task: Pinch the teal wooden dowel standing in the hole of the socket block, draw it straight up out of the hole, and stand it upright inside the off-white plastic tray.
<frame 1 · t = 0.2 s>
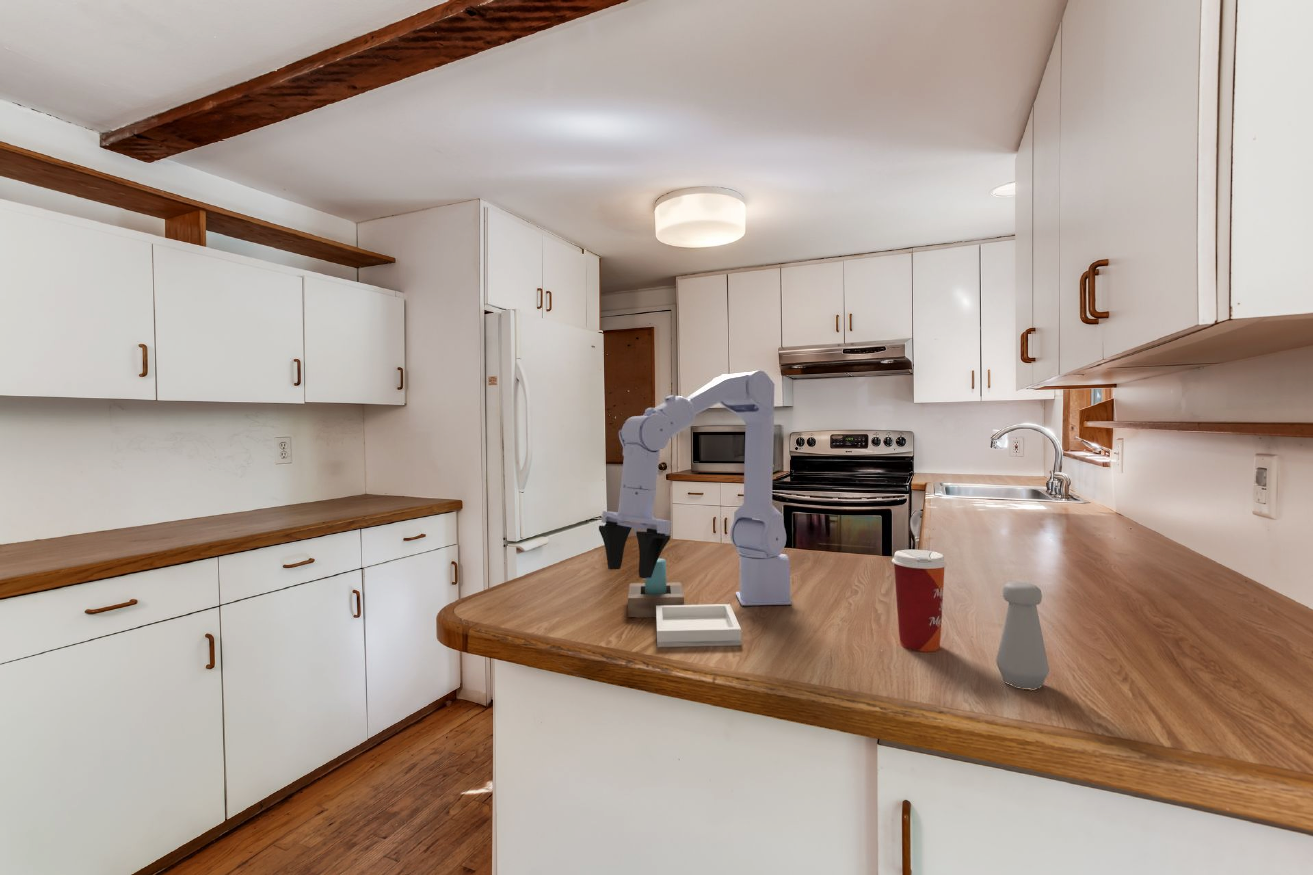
hand: (629, 573, 96), 11 cm above the counter, tool pointing down, fingers open, 7 cm apart
tray: (696, 631, 99), on the counter
dowel: (655, 584, 112), in the socket block
paper cup: (919, 646, 91), on the counter
salt shaker: (1022, 685, 77), on the counter
socket block: (656, 608, 112), on the counter
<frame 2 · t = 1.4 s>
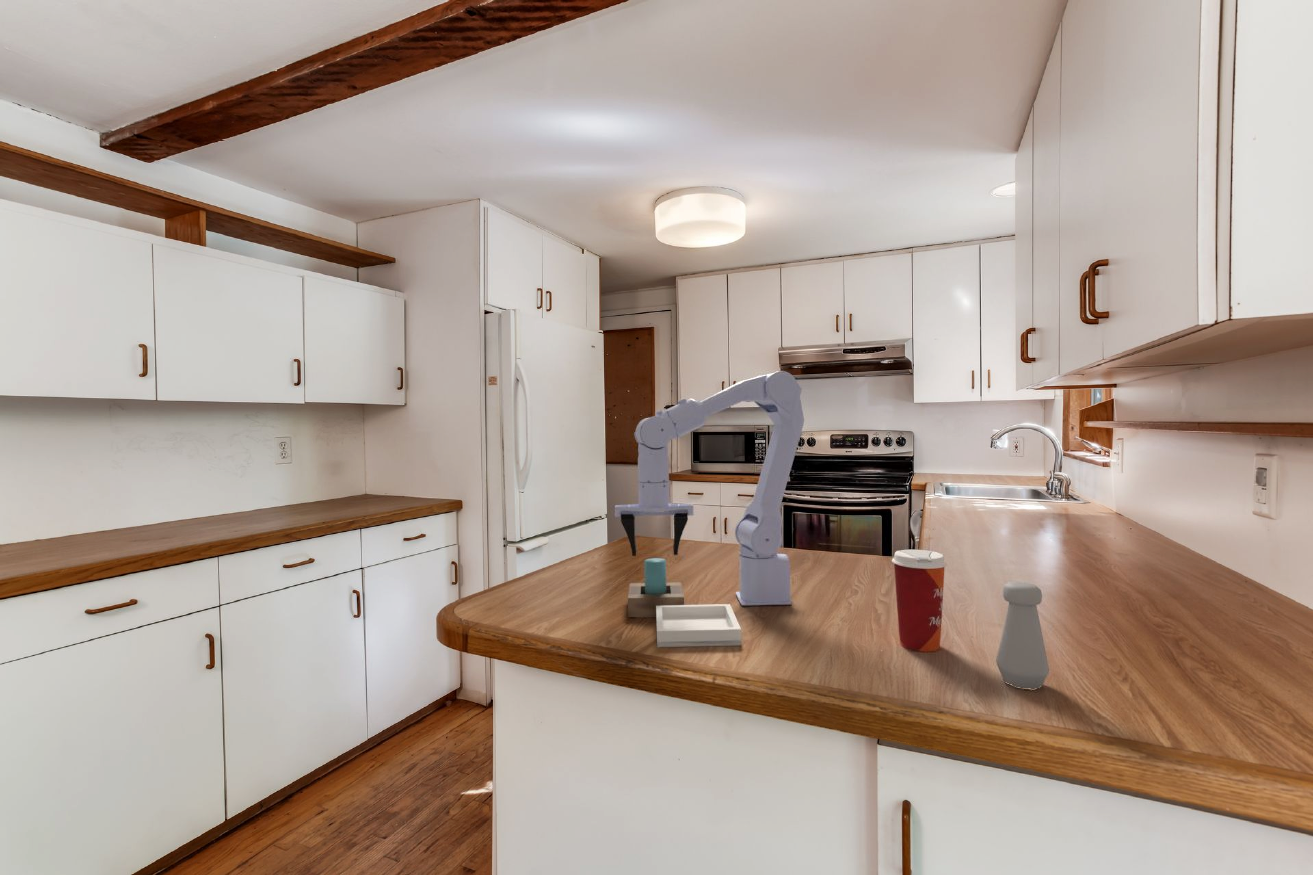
hand: (654, 554, 112), 10 cm above the counter, tool pointing down, fingers open, 7 cm apart
nothing on the counter moved.
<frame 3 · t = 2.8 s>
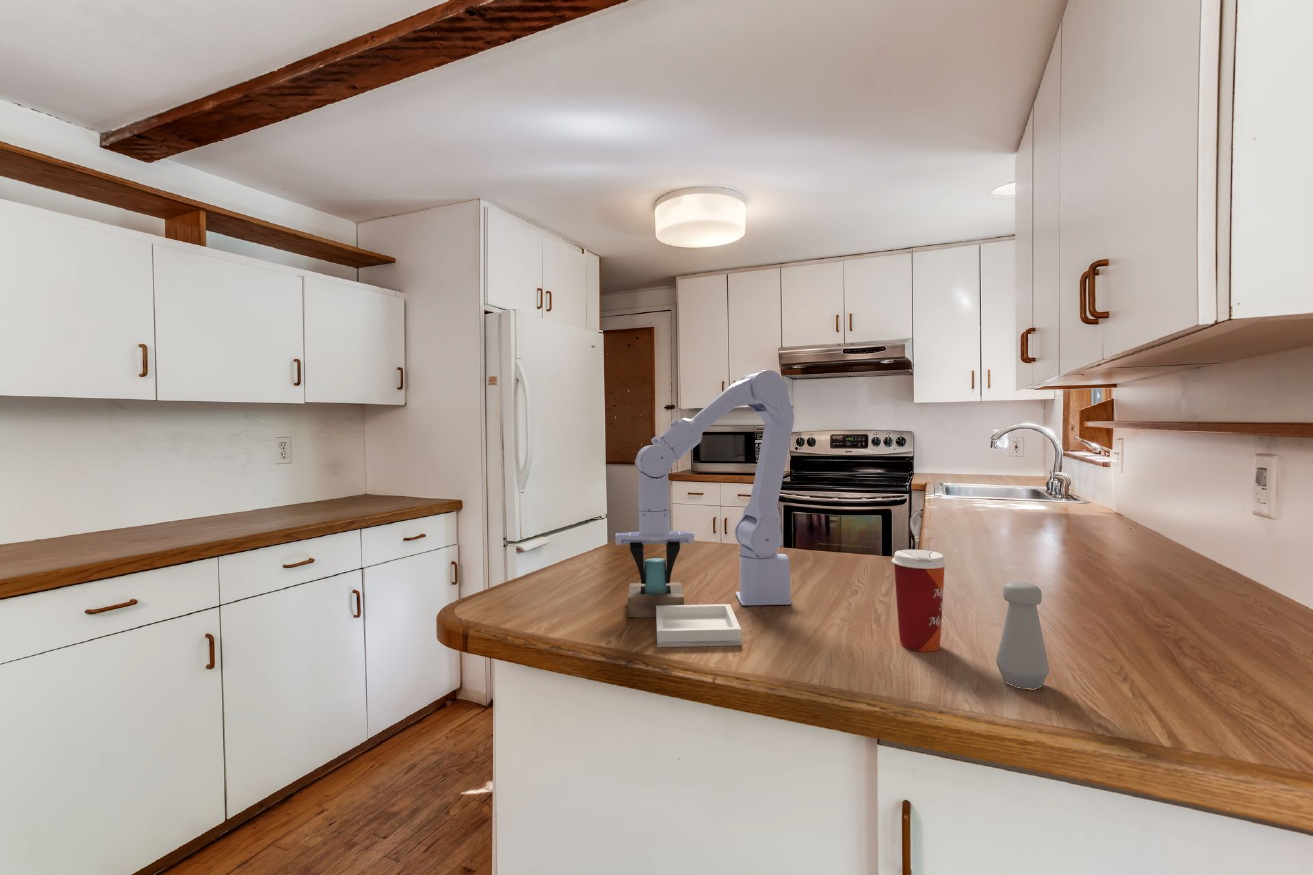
hand: (655, 582, 112), 5 cm above the counter, tool pointing down, fingers closed on dowel, 4 cm apart
dowel: (655, 584, 112), in the socket block, touching gripper
everything else where it was.
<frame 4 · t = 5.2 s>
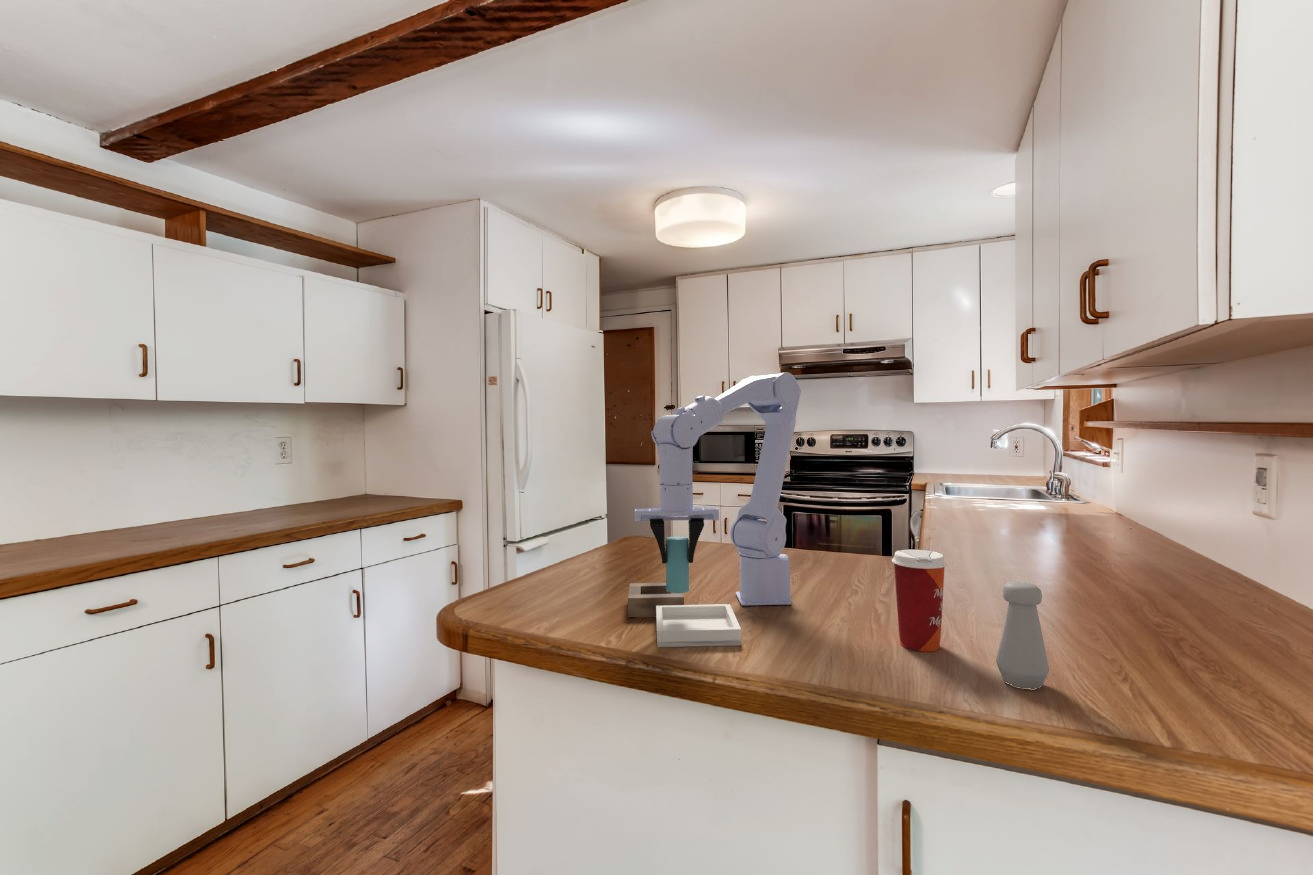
hand: (677, 562, 104), 10 cm above the counter, tool pointing down, fingers closed on dowel, 4 cm apart
dowel: (677, 564, 104), point 10 cm above the counter, touching gripper
everything else where it was.
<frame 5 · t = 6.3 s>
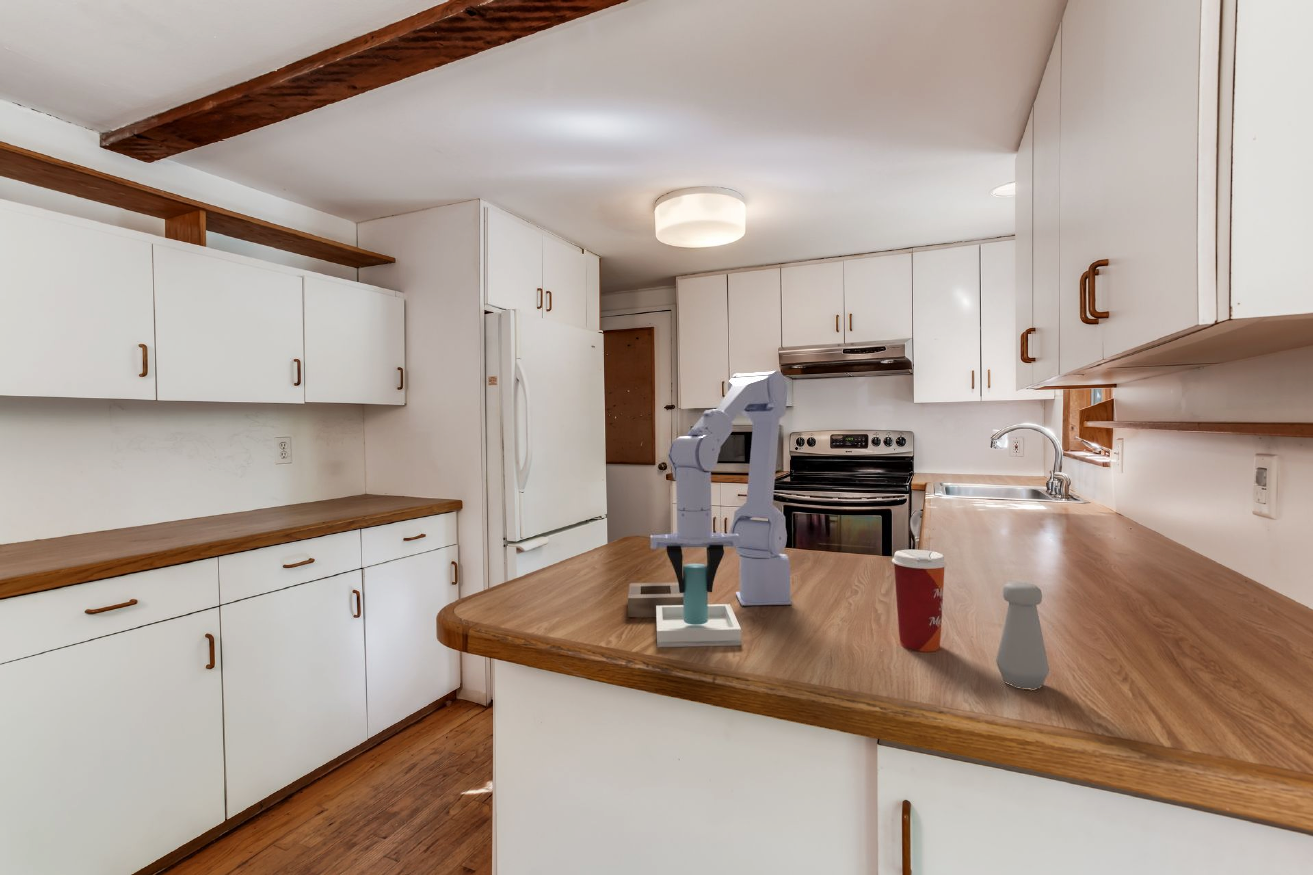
hand: (695, 591, 99), 7 cm above the counter, tool pointing down, fingers closed on dowel, 4 cm apart
dowel: (695, 593, 99), point 6 cm above the counter, touching gripper
everything else where it was.
when the fingers open (7 cm above the counter, at t = 7.5 s): dowel stays where it is, resting on tray.
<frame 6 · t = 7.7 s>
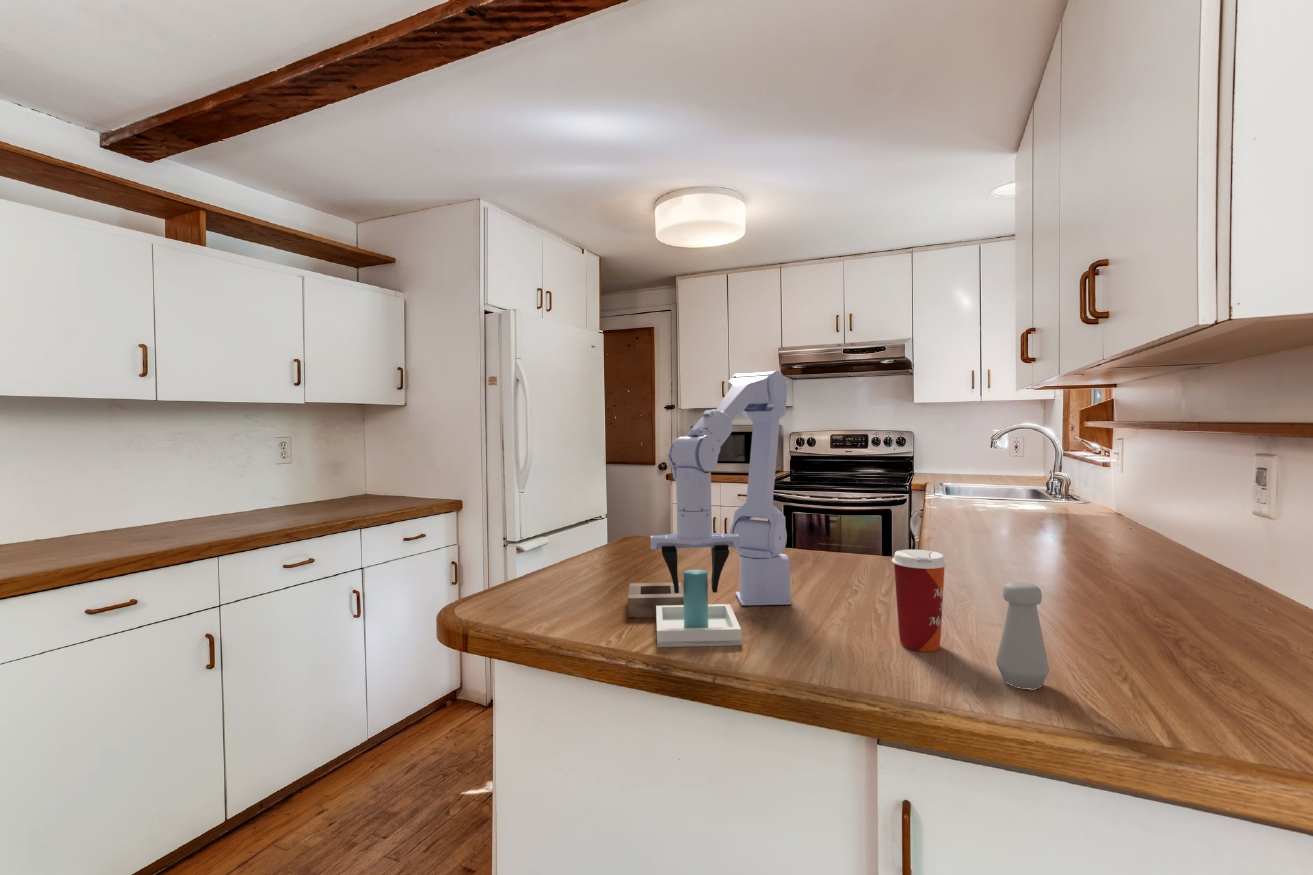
hand: (695, 591, 99), 7 cm above the counter, tool pointing down, fingers open, 6 cm apart
dowel: (695, 599, 99), in the tray, point 5 cm above the counter
everything else where it was.
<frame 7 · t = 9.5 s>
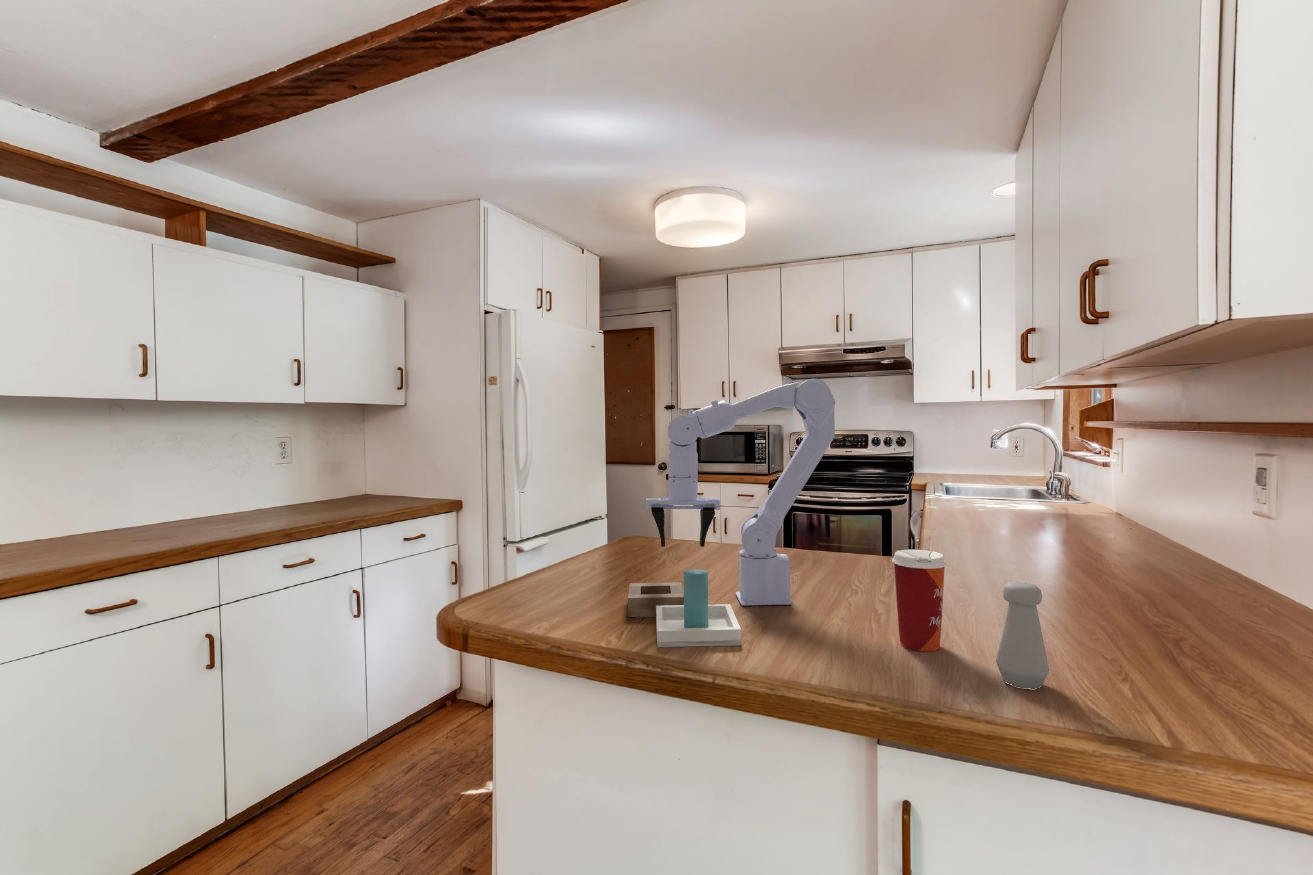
hand: (682, 545, 118), 10 cm above the counter, tool pointing down, fingers open, 7 cm apart
nothing on the counter moved.
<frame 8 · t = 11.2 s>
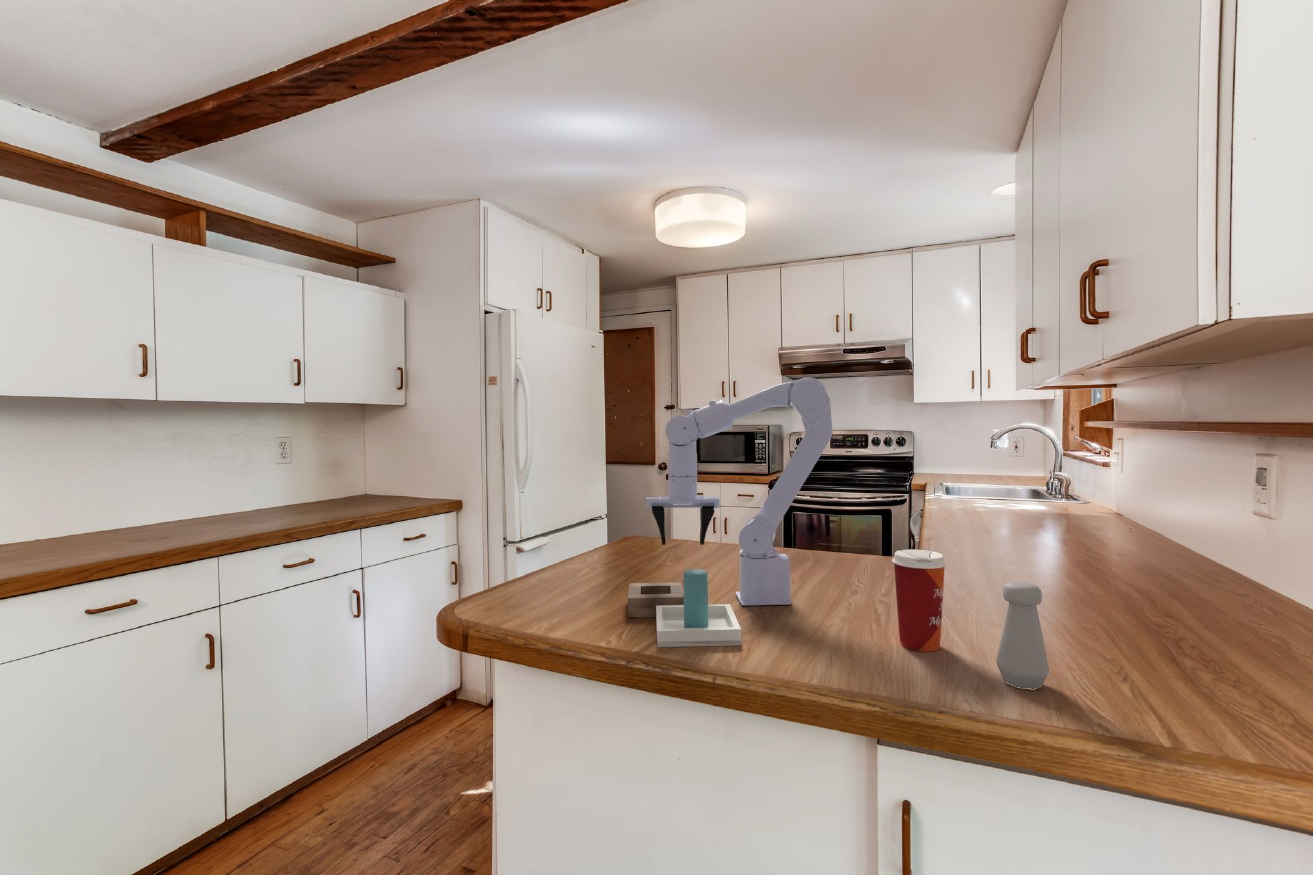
hand: (682, 543, 120), 10 cm above the counter, tool pointing down, fingers open, 7 cm apart
nothing on the counter moved.
at the end: dowel inside the target area on the tray (0.1 cm from its centre), point 5.3 cm above the tray's base; dowel tilted 1°; the gripper is holding nothing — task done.
